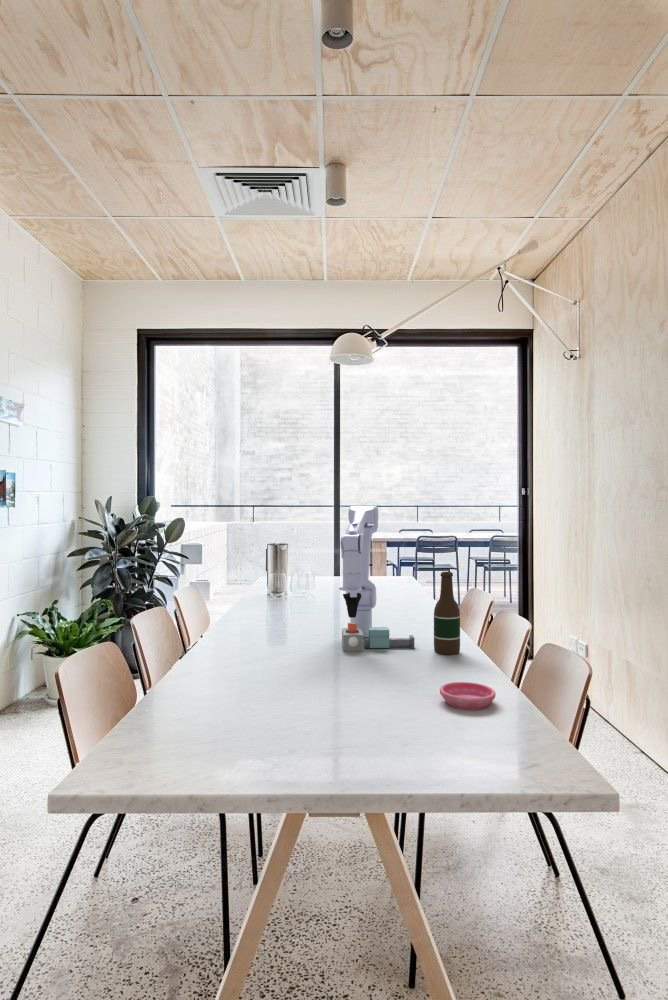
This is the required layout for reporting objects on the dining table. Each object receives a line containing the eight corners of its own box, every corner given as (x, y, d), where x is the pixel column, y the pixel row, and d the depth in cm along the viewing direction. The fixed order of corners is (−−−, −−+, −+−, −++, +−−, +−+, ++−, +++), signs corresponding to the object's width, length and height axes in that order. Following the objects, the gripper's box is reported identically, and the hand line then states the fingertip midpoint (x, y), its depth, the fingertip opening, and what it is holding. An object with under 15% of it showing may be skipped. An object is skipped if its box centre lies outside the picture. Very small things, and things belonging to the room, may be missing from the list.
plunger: (347, 635, 199) (347, 622, 199) (356, 635, 199) (356, 622, 199) (348, 637, 196) (347, 624, 196) (357, 637, 196) (357, 624, 196)
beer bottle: (448, 656, 186) (448, 574, 186) (428, 651, 192) (428, 571, 192) (465, 652, 191) (465, 572, 191) (445, 647, 197) (444, 569, 197)
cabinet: (341, 643, 202) (341, 628, 202) (360, 643, 203) (360, 627, 203) (343, 651, 192) (343, 635, 192) (363, 651, 192) (363, 635, 192)
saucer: (498, 697, 149) (498, 684, 149) (492, 715, 137) (492, 700, 137) (444, 692, 153) (444, 679, 153) (435, 708, 141) (435, 694, 141)
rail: (364, 645, 200) (364, 635, 200) (412, 645, 200) (412, 635, 200) (365, 648, 196) (365, 638, 196) (414, 648, 196) (414, 637, 196)
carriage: (368, 644, 200) (368, 627, 200) (387, 644, 200) (387, 627, 200) (369, 648, 195) (369, 630, 195) (389, 647, 196) (389, 630, 196)
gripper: (338, 570, 204) (338, 612, 204) (340, 576, 190) (340, 621, 190) (360, 570, 205) (360, 612, 205) (363, 576, 190) (363, 621, 190)
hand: (352, 617), depth 197 cm, fingers closed
